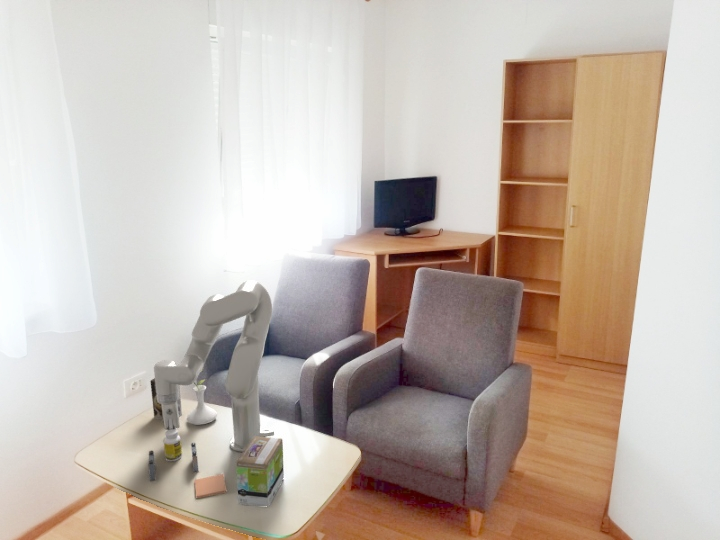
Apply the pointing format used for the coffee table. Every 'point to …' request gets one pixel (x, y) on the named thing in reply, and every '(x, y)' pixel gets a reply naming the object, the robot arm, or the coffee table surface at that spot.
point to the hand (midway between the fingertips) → (173, 442)
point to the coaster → (210, 486)
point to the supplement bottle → (172, 445)
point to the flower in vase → (201, 408)
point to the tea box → (260, 471)
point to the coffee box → (157, 406)
